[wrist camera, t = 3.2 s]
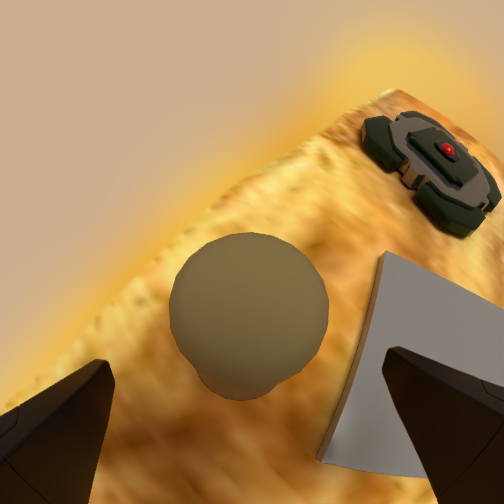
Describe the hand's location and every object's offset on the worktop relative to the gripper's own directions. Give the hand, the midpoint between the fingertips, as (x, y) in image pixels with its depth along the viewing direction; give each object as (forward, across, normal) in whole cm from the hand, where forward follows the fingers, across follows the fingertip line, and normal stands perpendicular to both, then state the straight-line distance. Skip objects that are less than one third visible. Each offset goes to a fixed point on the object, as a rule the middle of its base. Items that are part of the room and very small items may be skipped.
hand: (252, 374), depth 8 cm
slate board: (+5, -15, +8) cm, 18 cm away
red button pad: (+22, -25, -8) cm, 34 cm away
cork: (+8, 0, +5) cm, 10 cm away
